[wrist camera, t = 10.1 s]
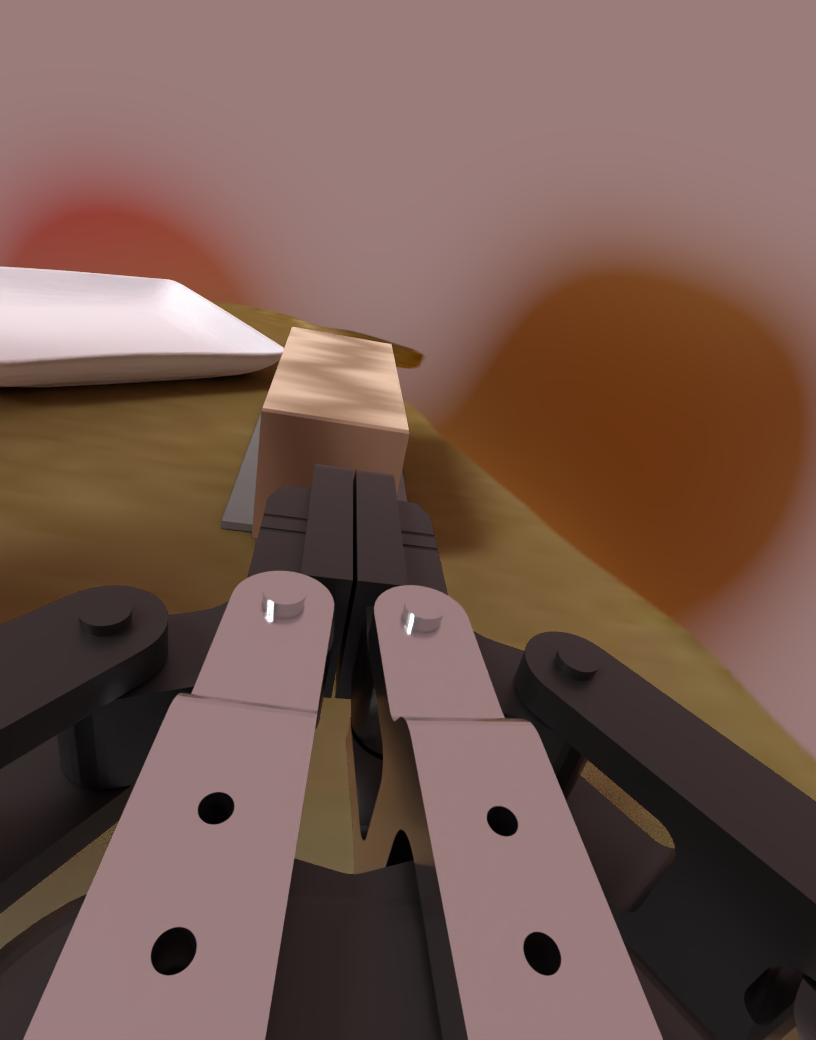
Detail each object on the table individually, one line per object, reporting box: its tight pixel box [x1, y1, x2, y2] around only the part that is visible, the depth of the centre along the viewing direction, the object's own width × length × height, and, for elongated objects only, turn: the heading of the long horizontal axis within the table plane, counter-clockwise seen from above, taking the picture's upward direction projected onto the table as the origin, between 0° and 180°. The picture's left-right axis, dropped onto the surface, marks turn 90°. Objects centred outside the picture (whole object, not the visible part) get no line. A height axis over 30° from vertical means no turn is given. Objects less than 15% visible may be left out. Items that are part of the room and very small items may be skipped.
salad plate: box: [0, 267, 284, 387], centre depth 44 cm, size 21×21×3 cm
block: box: [252, 327, 410, 538], centre depth 32 cm, size 6×6×14 cm
